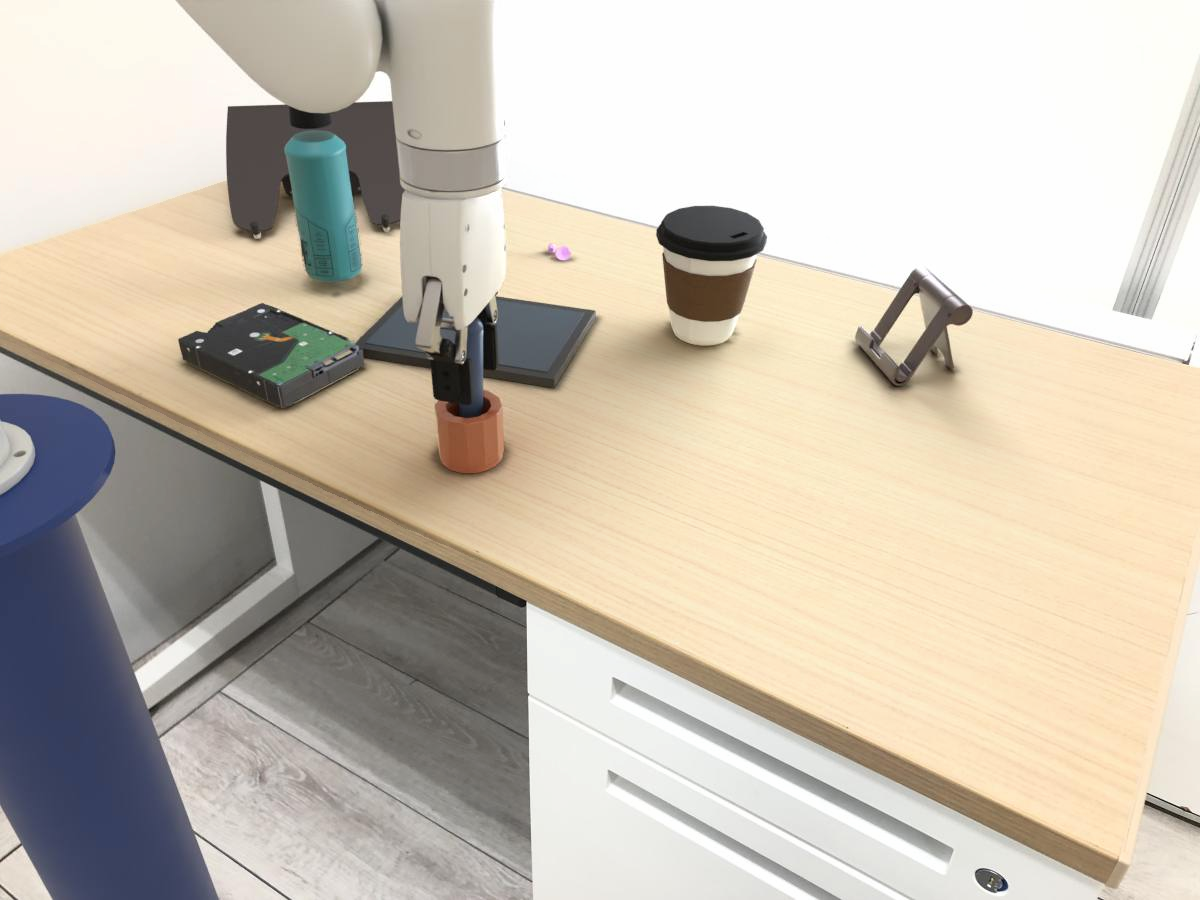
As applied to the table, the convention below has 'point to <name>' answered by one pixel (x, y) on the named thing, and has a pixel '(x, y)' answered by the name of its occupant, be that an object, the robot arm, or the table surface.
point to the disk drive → (272, 354)
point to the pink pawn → (560, 252)
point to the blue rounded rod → (475, 369)
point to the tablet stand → (937, 314)
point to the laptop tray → (264, 165)
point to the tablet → (524, 332)
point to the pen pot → (470, 436)
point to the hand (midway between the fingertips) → (466, 381)
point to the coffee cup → (708, 269)
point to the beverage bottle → (322, 199)
